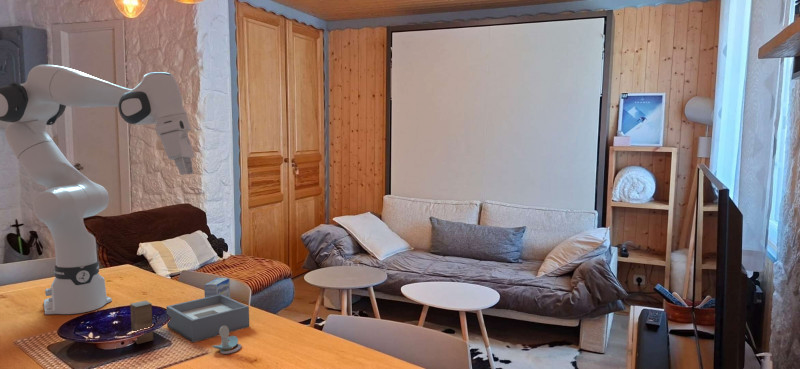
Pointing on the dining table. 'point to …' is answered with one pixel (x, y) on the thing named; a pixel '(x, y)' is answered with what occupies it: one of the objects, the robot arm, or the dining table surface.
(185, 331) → the bin
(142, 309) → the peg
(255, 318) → the dining table surface
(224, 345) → the pacifier
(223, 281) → the medicine box
